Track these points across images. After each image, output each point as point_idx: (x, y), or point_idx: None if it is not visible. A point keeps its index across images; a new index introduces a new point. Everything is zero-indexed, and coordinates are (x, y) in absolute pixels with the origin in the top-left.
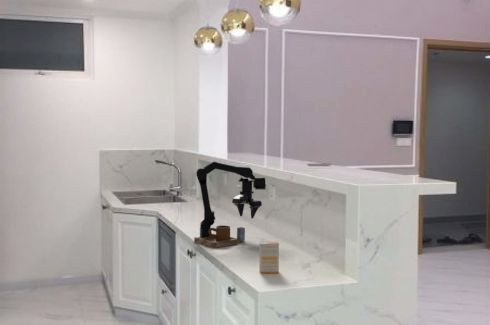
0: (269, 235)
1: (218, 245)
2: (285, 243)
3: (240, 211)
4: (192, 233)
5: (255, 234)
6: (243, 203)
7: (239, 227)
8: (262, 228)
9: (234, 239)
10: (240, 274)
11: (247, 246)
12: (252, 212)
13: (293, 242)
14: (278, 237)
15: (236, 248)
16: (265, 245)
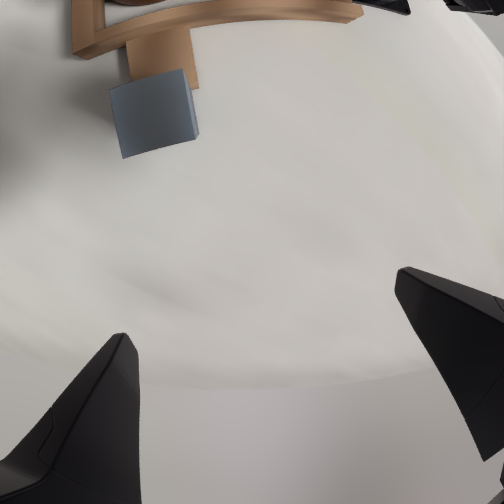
0: (247, 362)
1: None
2: (41, 332)
3: (454, 315)
4: (484, 50)
5: (314, 315)
6: (499, 449)
7: (181, 104)
8: (382, 373)
9: (72, 17)
10: None
11: (14, 101)
12: (46, 420)
13: (60, 366)
14: (180, 374)
15: (14, 26)
16: None
